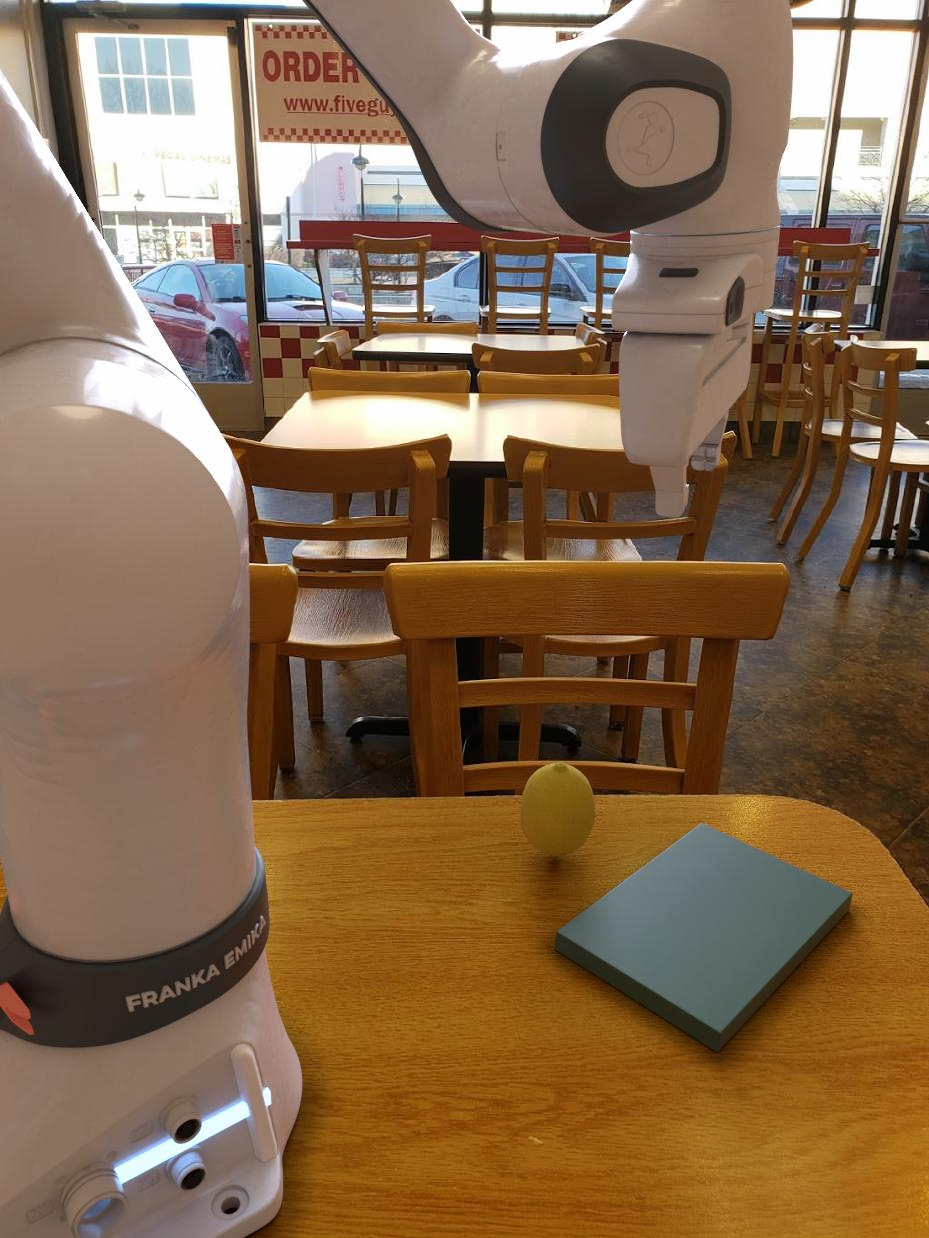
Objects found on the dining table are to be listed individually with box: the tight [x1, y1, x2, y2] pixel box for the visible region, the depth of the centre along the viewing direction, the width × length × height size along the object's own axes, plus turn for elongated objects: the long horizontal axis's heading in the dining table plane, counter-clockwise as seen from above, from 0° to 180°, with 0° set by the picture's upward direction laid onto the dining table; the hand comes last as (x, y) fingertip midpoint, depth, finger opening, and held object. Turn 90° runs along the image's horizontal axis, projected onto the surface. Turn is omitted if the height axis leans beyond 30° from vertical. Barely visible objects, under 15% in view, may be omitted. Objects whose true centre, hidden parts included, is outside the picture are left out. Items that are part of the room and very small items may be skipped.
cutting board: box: [554, 822, 853, 1053], centre depth 63 cm, size 18×12×2 cm, turn 136°
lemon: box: [519, 761, 596, 858], centre depth 70 cm, size 6×6×8 cm
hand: (689, 489), depth 65 cm, fingers open, 8 cm apart
